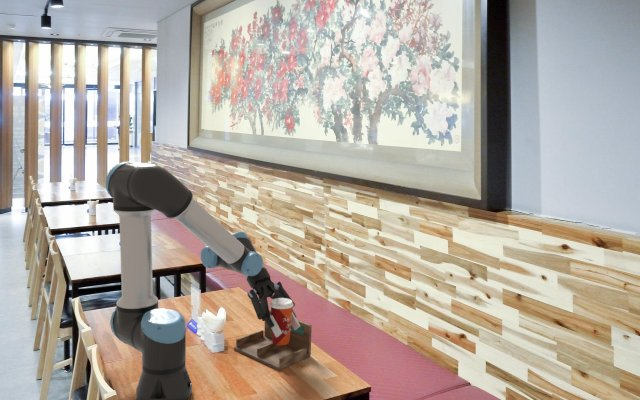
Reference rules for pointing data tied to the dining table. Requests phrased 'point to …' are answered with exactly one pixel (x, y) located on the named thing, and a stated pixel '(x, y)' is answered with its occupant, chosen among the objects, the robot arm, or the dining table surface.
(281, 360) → the rack
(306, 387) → the dining table surface
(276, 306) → the paper cup
